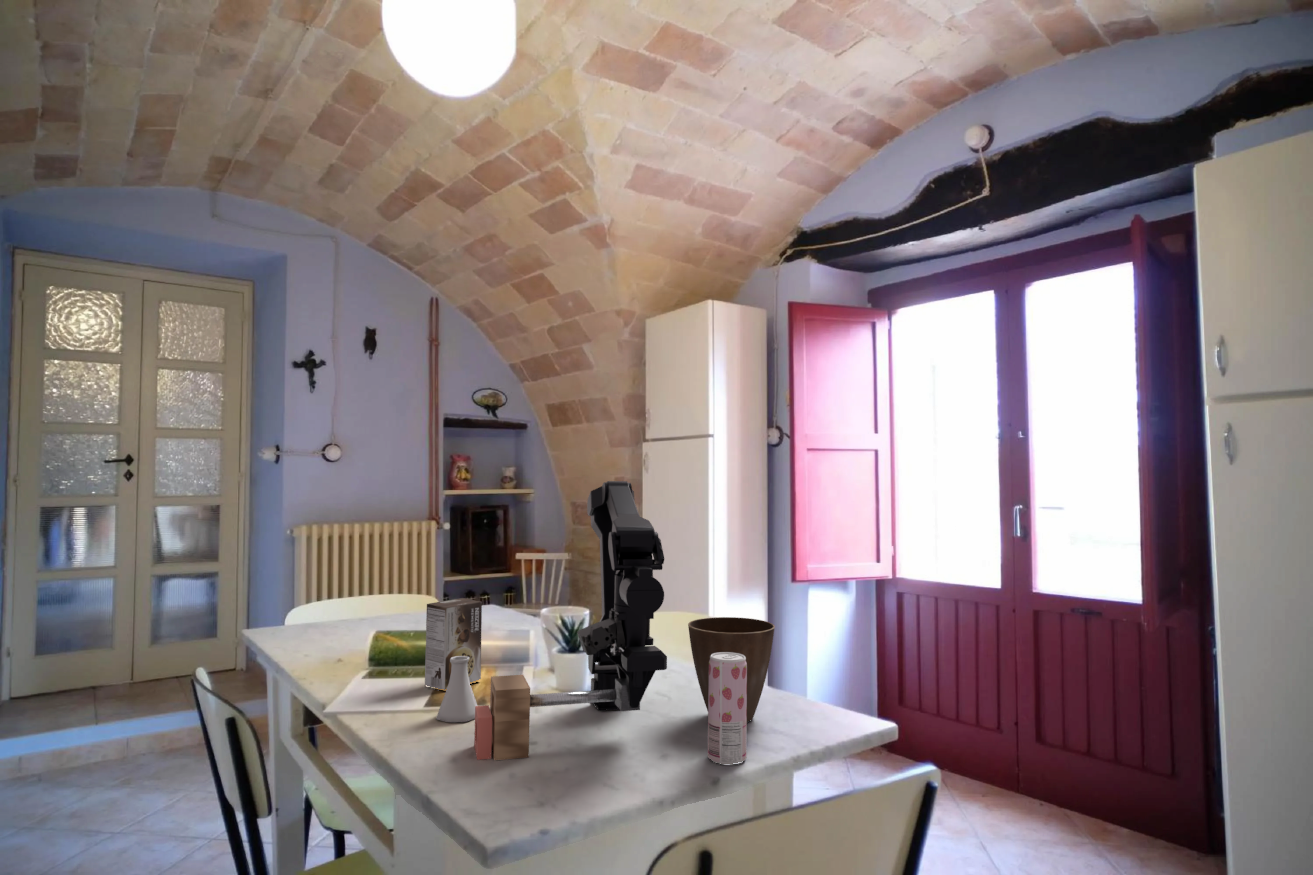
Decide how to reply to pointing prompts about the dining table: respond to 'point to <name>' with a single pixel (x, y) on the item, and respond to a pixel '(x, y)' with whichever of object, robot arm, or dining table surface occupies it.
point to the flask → (458, 694)
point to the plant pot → (737, 638)
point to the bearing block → (510, 717)
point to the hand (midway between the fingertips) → (630, 703)
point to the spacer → (483, 732)
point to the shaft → (587, 697)
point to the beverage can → (727, 707)
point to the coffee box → (452, 639)
